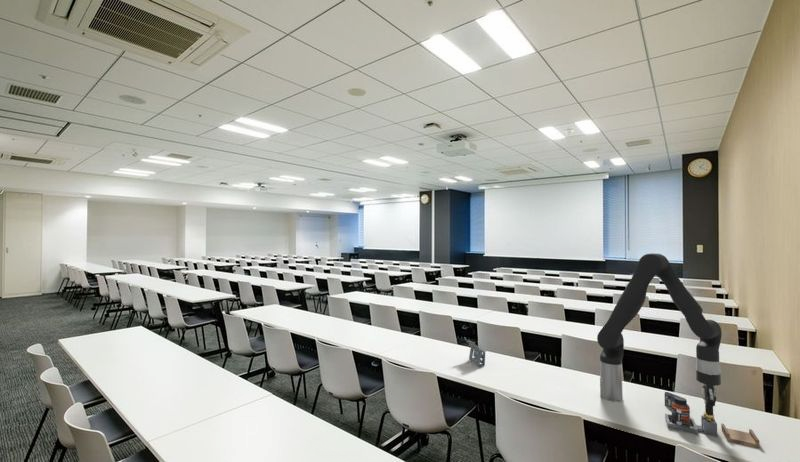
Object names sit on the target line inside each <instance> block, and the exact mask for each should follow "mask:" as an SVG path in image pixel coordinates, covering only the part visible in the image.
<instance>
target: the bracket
mask: <svg viewBox="0 0 800 462" xmlns="http://www.w3.org/2000/svg"><path fill="white" fill-rule="evenodd" d="M463 338H464V340H465V341H466V342H467V343H468V344H469V347H470V349H469V356H468V360H469V361H471V363H472V362H473V363H472V364H474V365H475V364H476V366H478V367H485V366H486V365H485V364H486V352H487V350H486V349H485V348H482V347H481V346H478V345H477V344H476V343H475V342H474V341H471V340H470V339H467V337H465V336H464V337H463Z"/></svg>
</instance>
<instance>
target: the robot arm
mask: <svg viewBox="0 0 800 462" xmlns="http://www.w3.org/2000/svg"><path fill="white" fill-rule="evenodd" d="M655 276H656V277H658V279H659V280H660V281H661V282H662V283H663V284H664V286H665V288H666V290H667V292H668V294H669V296H670V299H671V300H672V302H673V304H674V305H675V306H676V307H677V309H678V310H679V311H680V312H681V313H682V315H683V316H684V318H685V320H686V322H687V325H688V326H689V328H690V330H691V332H693V334H694V335H695V336H696V337H698V338H699V342H698V343H697V344H696V346H695V347H696V348H695V349H696V350H695V351H696V360H695V377H696V381H697V382H699V383H701V392H702V396H703V397H702V399H703V400H704V401H703V403H704V404H705V405H704V409H705V410H704V412H706V414H708V415H713V414H714V407H715V406H716V402H717V401H716V400H717V397H716V395H717V389H716V388H715V386H721V385H722V379H721V378H722V373H721V369H722V368H721V363H720V362H721V361H720V350H719V349H720V346H721V341H722V333H723V332H722V328H721V325H720V324H719V323H718V322H717V321H715V320H714V319H706V317H705V316H704V314H703V311H704V310H703V308H702V306H701V305H700V303H699V302H698V301H697V300H696V299H695V298H694V296H693V295H692V294H691V293H690V291H689V290H688V289H687V287H686V286H685V285H684V283H683V282H682V280H681V279H680V278H679V276H678V275H677V273H676V271H675V270H674V268H673V266H672V265H671V263H670V261H669V260H668V258H667V257H666V256H665V255H663V254H661V253H654V252H653V253H651V252H650V253H646V254H643V255H642V256H641V257H640V259H639V260H638V263H637V265H636V267H635V270H634V273H633V274H632V276H631V278H630V280H629V282H628V283H627V285H626V286H625V289H624V290H623V292H622V293H621V295H620V297H619V298H618V300H617V302H616V304H615V307H614V308H613V310H612V311H611V314H610V315H609V318H608V320H607V321H606V323H605V324H604V325H603V327H602V328H601V329H600V331H598V333H597V336H596V337H597V338H596V340H597V343H598V345H599V346H600V348H602V351H601V353H600V355H599V364H600V365H599V371H600V377H599V382H600V384H599V387H600V389H599V390H600V393H599V396H600V398H601V399H605V400H607V401H612V402H622V401H623V395H624V394H623V358H624V351H625V347H624V346H625V344H624V343H625V340H624V335H623V333H622V332H623V331H624V329H625V328H626V326H627V325H628V324H630V323H631V322H632V321H633V320H634V318H635V317H636V316H637V315H638V314H639V312H640V311H641V310H642V307H643V305H644V304H645V301H646V297H647V291H648V288H649V285H650V284H651V282H652V280H653V279H654V278H655Z"/></svg>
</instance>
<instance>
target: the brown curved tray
mask: <svg viewBox="0 0 800 462" xmlns="http://www.w3.org/2000/svg"><path fill="white" fill-rule="evenodd" d="M720 426H721V429H720V430H721V432H722V434H723V435H724V436H723V437H724V438H725V439H726V441H727V442H730V441H731V443H735V444H741V445H744V446H748V447H753V448H758V449H760V447H761V446H760V439H759V438H758V436H757V435H756V434H755V432H754V430H753V429H751V428H749V429H748V432H747V431H743V430H742V431H741V430H737V429H732V428H727V426H726V425H725V423H721V425H720Z"/></svg>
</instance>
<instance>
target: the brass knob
mask: <svg viewBox="0 0 800 462" xmlns="http://www.w3.org/2000/svg"><path fill="white" fill-rule="evenodd" d="M703 416H704V417H706V418H707V420H710V421H711V419H715V414H714V413H713V415H708V414H706V412H705V411H704V412H703Z"/></svg>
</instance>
